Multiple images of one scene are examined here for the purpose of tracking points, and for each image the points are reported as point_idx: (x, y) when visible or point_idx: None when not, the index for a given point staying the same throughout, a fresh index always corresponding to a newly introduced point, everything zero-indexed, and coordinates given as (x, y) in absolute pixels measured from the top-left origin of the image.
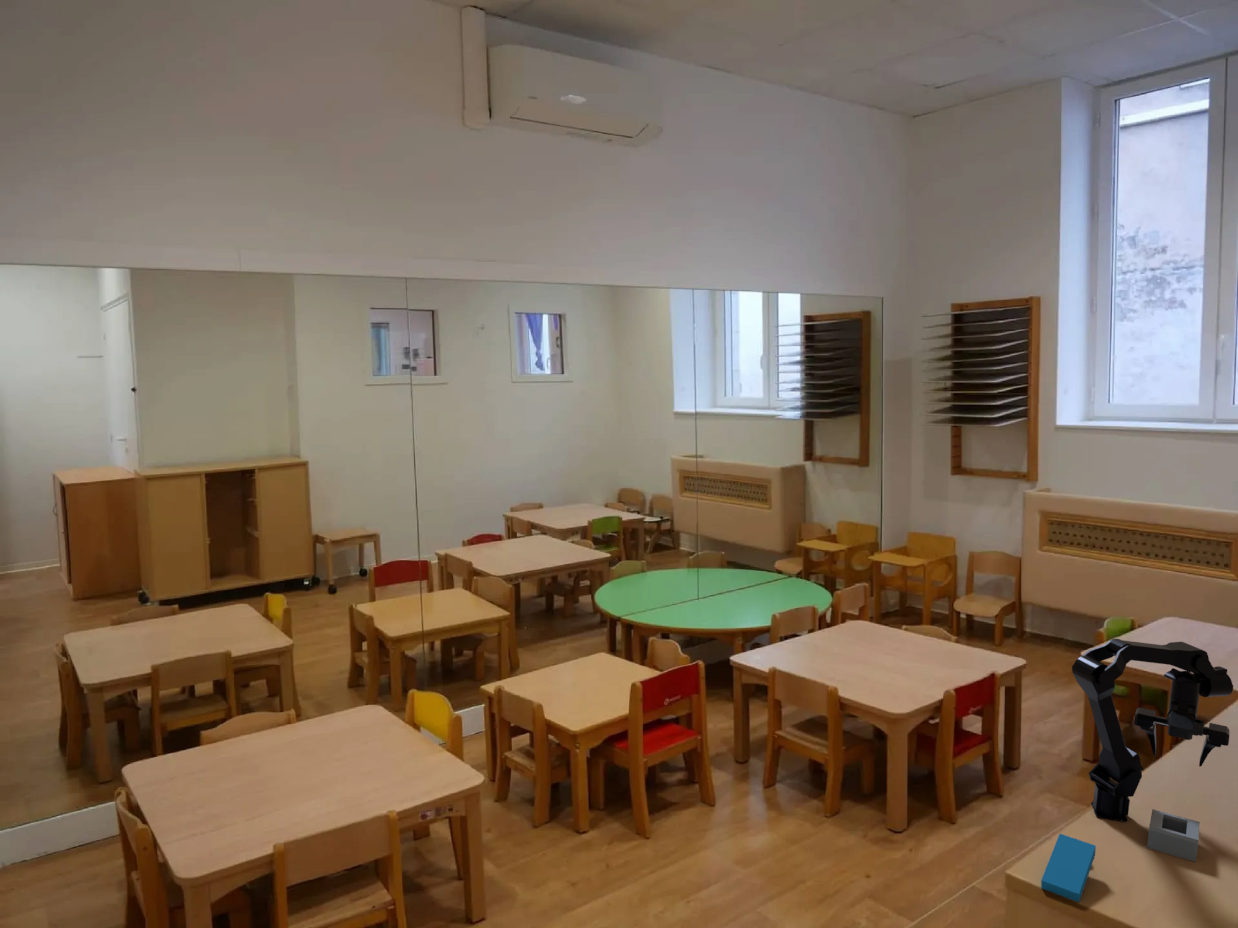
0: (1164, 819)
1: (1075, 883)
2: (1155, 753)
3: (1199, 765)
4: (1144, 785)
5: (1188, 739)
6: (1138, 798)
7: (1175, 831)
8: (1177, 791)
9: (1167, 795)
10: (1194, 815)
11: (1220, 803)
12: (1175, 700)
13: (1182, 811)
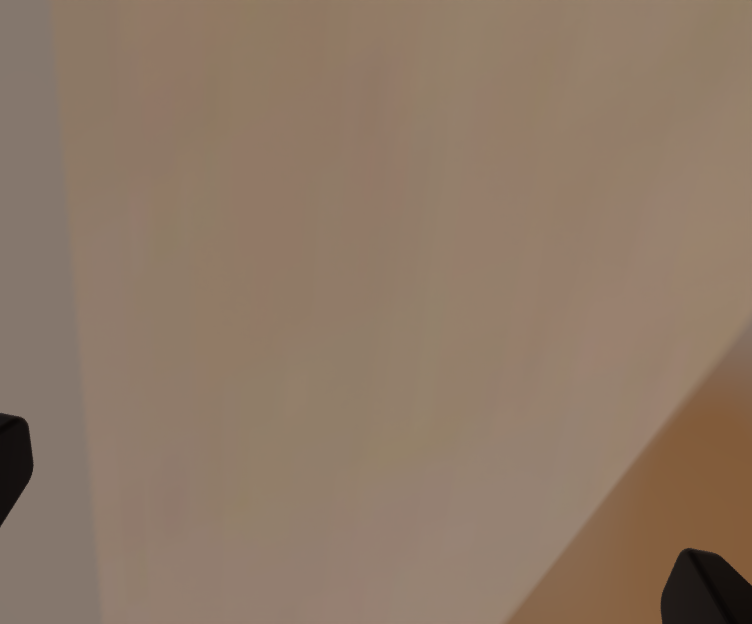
0: None
1: None
2: (665, 603)
3: (12, 418)
4: (549, 498)
5: None
6: (640, 282)
7: None
8: (352, 493)
9: (419, 417)
10: (268, 185)
11: (126, 437)
12: None
13: (344, 211)
